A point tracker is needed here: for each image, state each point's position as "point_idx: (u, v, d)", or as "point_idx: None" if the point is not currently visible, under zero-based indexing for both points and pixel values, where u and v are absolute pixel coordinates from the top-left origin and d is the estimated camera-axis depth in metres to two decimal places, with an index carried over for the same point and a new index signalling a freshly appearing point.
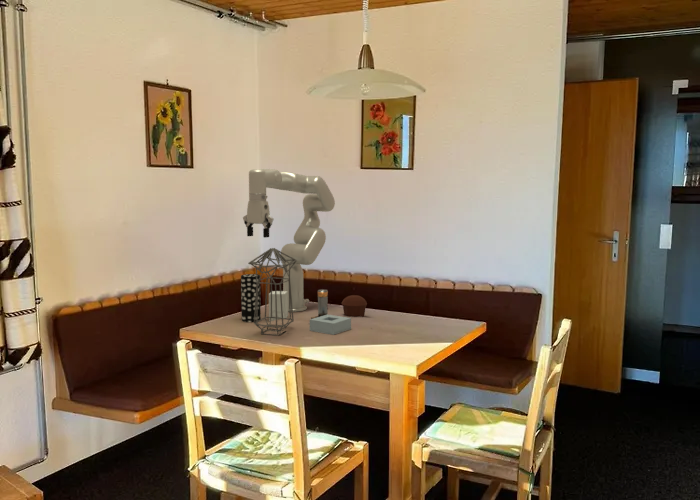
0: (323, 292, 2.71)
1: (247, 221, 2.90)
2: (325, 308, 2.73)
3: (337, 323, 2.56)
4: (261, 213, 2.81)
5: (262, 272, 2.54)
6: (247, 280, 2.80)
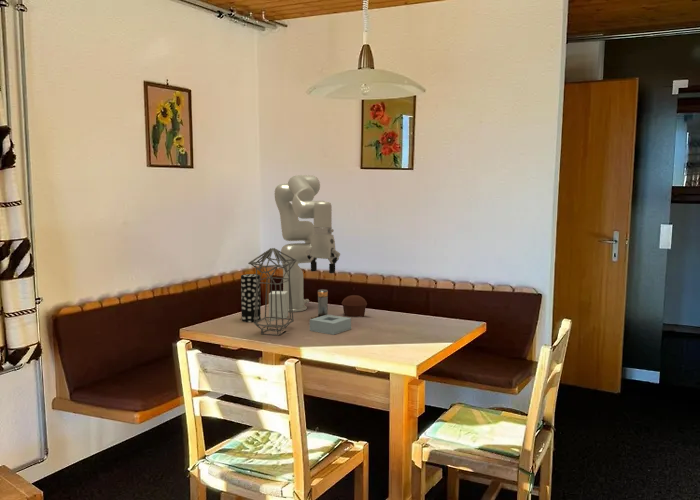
0: (323, 292, 2.71)
1: (310, 255, 2.75)
2: (325, 308, 2.73)
3: (337, 323, 2.56)
4: (327, 248, 2.67)
5: (262, 272, 2.54)
6: (247, 280, 2.80)
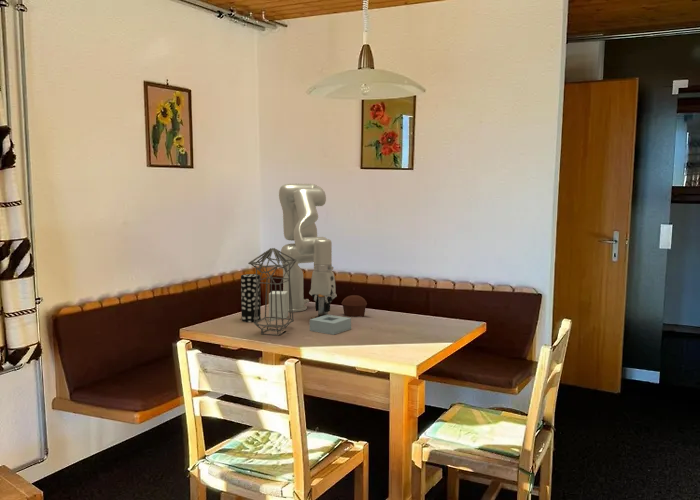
0: None
1: None
2: None
3: (337, 323, 2.56)
4: (327, 285, 2.69)
5: (262, 272, 2.54)
6: (247, 280, 2.80)
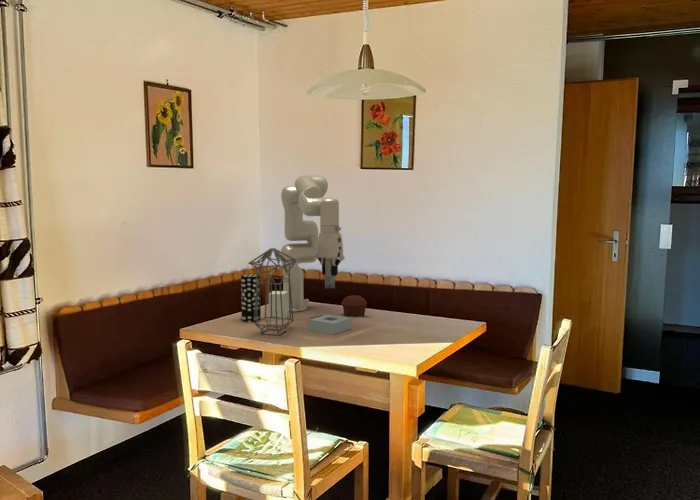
0: None
1: None
2: None
3: (337, 323, 2.56)
4: (334, 247, 2.56)
5: (262, 272, 2.54)
6: (247, 280, 2.80)
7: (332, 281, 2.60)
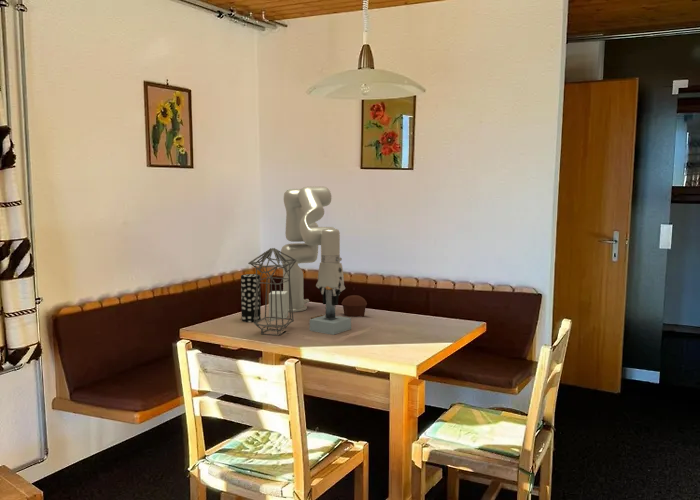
0: None
1: None
2: None
3: (337, 323, 2.56)
4: (335, 277, 2.56)
5: (262, 272, 2.54)
6: (247, 280, 2.80)
7: (333, 311, 2.60)
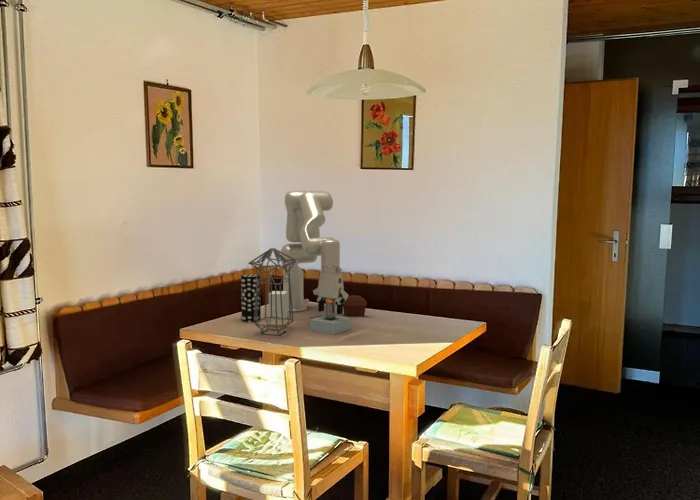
0: (331, 299, 2.59)
1: (318, 295, 2.65)
2: (333, 316, 2.60)
3: (337, 323, 2.56)
4: (335, 288, 2.57)
5: (262, 272, 2.54)
6: (247, 280, 2.80)
7: None
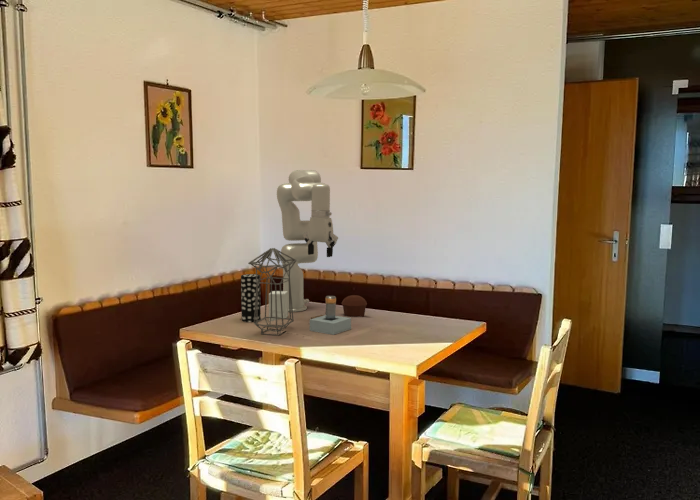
0: (331, 299, 2.59)
1: (308, 238, 2.71)
2: (333, 316, 2.61)
3: (337, 323, 2.56)
4: (325, 231, 2.63)
5: (262, 272, 2.54)
6: (247, 280, 2.80)
7: None
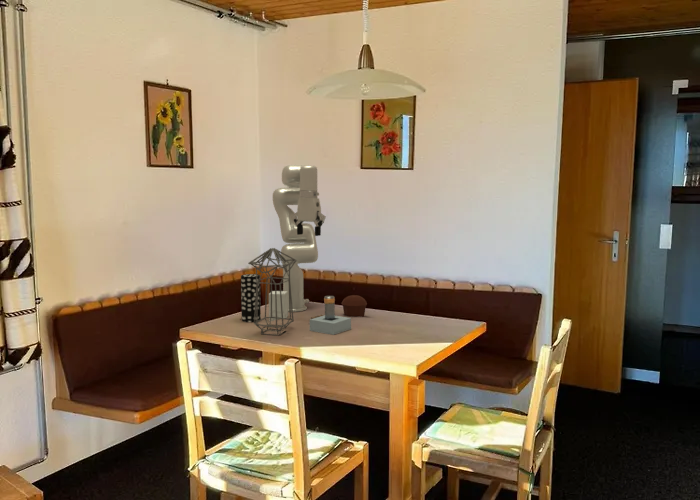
0: (330, 299, 2.59)
1: (297, 219, 2.81)
2: (332, 316, 2.61)
3: (337, 323, 2.56)
4: (313, 211, 2.72)
5: (262, 272, 2.54)
6: (247, 280, 2.80)
7: None
